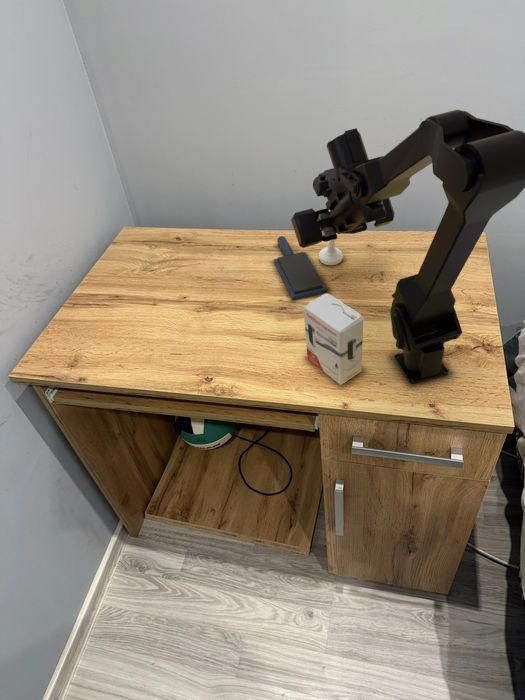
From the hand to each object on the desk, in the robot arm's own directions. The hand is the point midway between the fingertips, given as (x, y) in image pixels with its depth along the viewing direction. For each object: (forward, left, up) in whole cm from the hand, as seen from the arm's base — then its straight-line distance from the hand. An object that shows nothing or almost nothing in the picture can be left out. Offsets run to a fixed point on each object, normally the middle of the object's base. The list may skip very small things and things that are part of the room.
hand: (330, 232), depth 100 cm
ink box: (-29, +10, -7) cm, 32 cm away
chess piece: (0, 0, -6) cm, 6 cm away
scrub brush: (0, +8, -7) cm, 10 cm away
